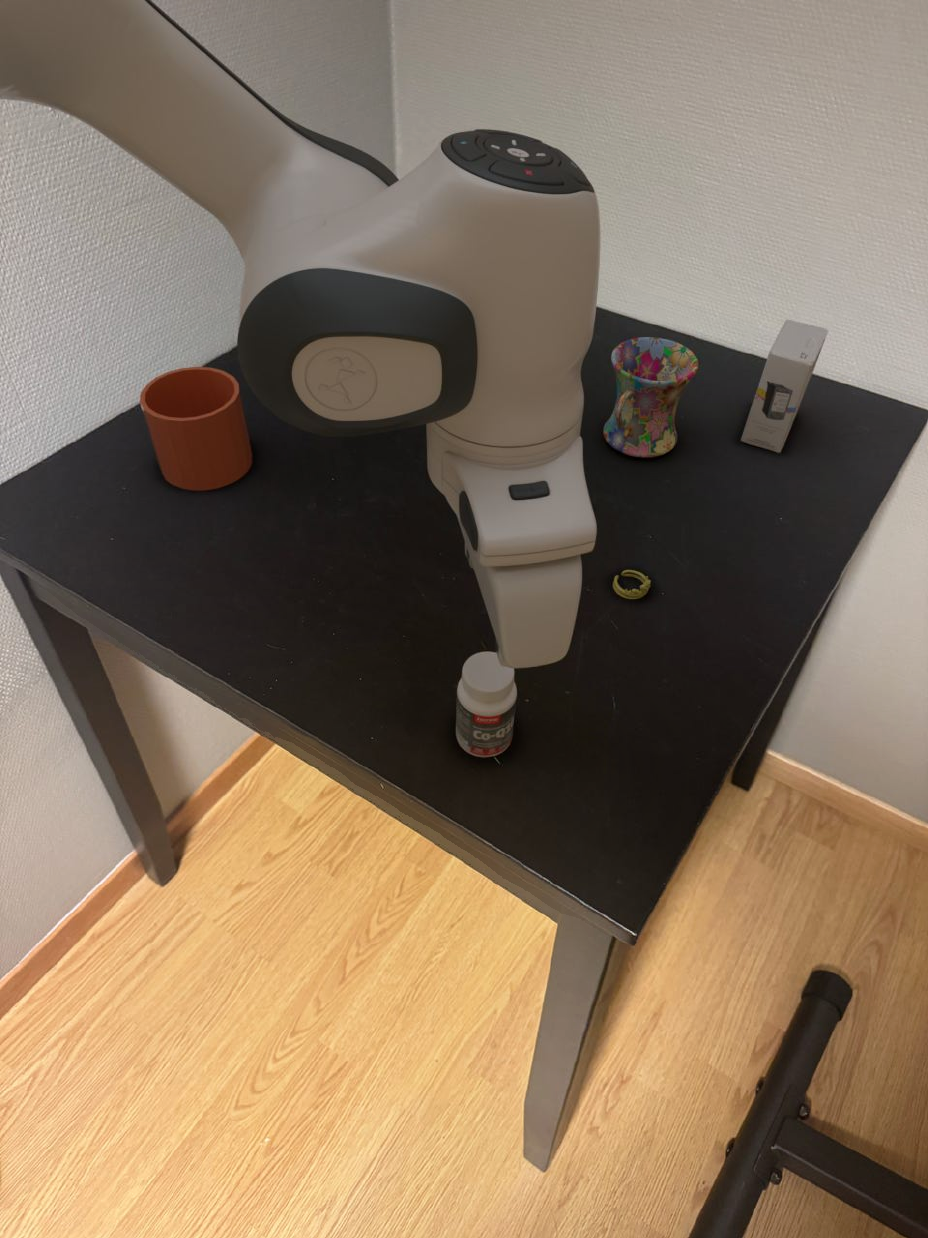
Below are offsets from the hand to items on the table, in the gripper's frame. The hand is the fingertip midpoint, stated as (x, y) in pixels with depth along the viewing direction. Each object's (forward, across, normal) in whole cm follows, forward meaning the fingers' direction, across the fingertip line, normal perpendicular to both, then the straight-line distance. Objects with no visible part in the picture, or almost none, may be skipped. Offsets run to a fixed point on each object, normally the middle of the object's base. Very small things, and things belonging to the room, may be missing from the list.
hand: (493, 607), depth 60 cm
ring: (+16, -14, +18) cm, 28 cm away
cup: (+15, -42, -22) cm, 50 cm away
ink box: (+16, -36, +43) cm, 58 cm away
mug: (+16, -36, +26) cm, 47 cm away
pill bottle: (+16, 0, 0) cm, 16 cm away
